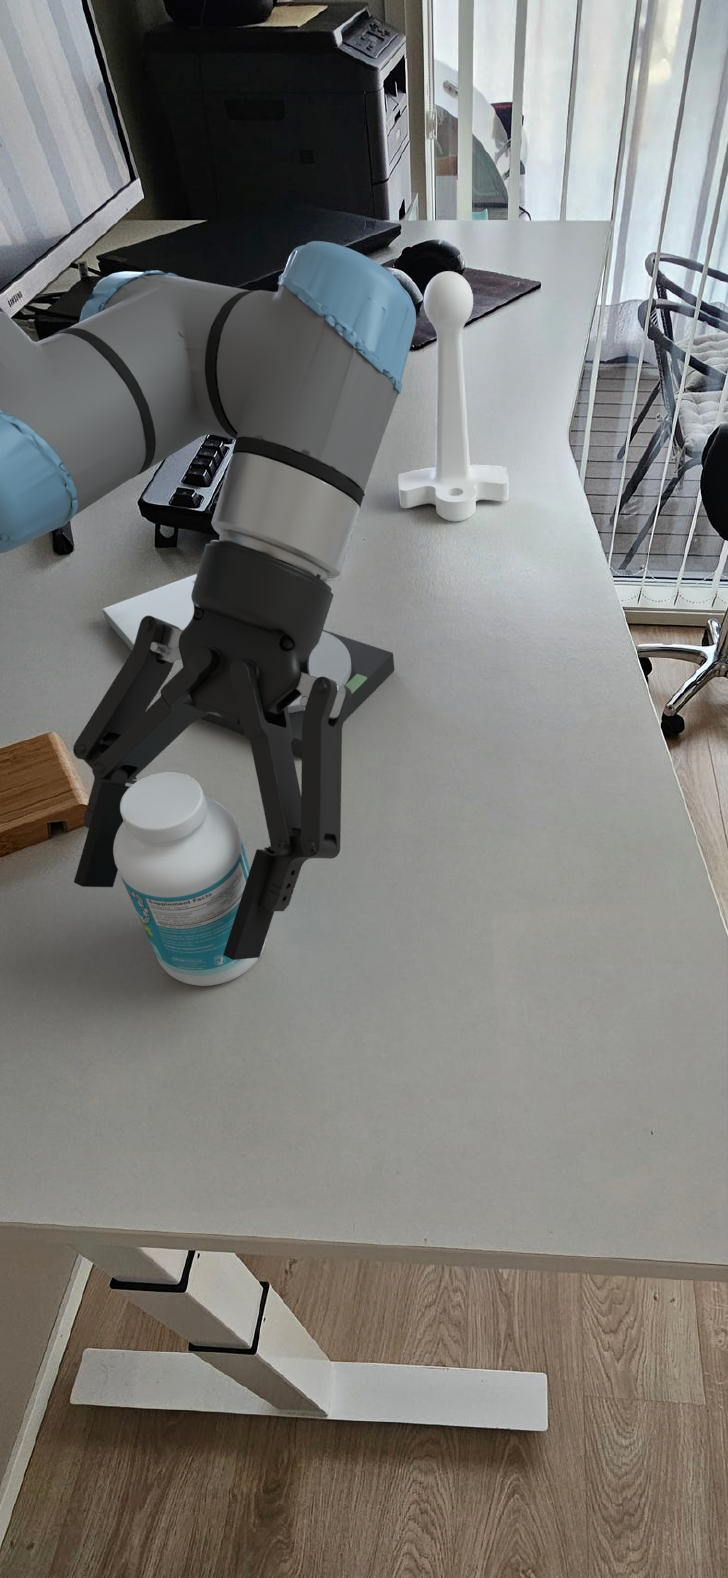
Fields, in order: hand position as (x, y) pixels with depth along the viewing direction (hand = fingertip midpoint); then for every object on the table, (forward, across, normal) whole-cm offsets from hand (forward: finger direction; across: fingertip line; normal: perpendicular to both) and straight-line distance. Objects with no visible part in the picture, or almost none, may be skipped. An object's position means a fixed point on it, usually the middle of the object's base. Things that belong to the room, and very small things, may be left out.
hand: (165, 919), depth 60 cm
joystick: (-39, +15, -47) cm, 63 cm away
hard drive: (-18, +26, -27) cm, 42 cm away
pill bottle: (+2, 0, -6) cm, 6 cm away
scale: (-16, +12, -24) cm, 31 cm away
